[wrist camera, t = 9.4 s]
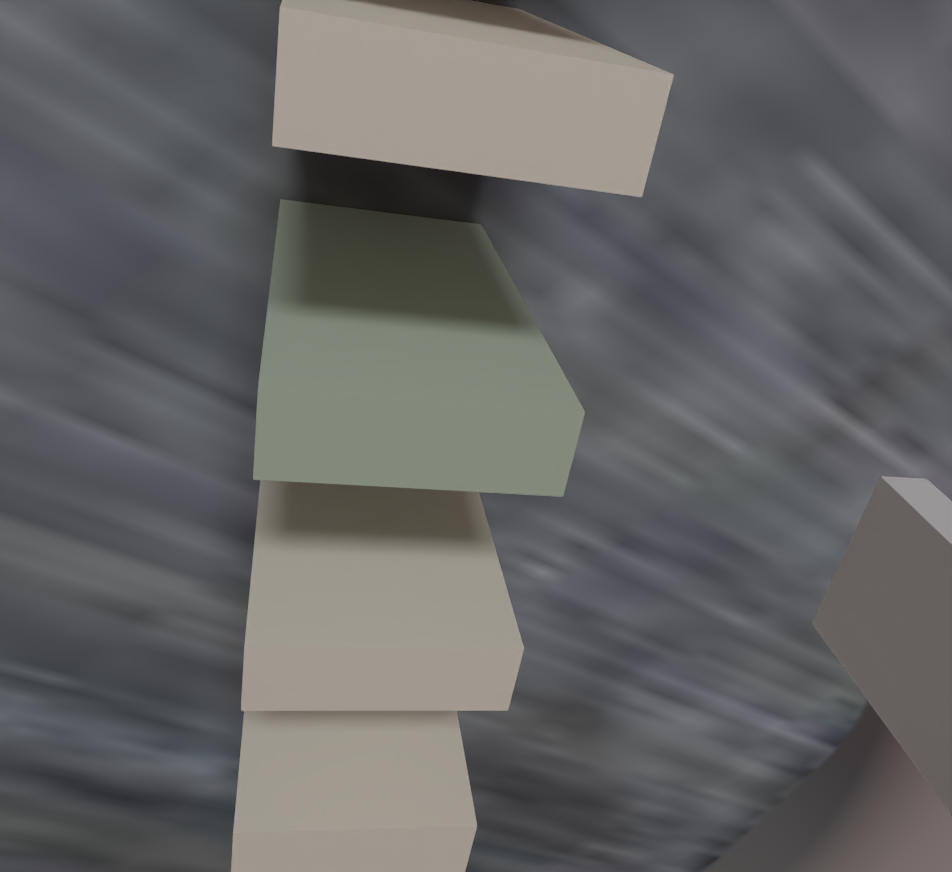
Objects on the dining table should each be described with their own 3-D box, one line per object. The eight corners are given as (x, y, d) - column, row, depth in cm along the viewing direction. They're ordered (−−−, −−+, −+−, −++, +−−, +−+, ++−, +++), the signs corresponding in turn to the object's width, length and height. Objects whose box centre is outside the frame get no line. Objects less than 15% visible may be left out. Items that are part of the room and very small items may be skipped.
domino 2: (470, 283, 23) (562, 496, 14) (276, 262, 22) (253, 479, 13) (481, 224, 22) (584, 412, 14) (280, 199, 21) (258, 386, 13)
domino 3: (442, 446, 25) (507, 710, 17) (266, 434, 24) (240, 710, 16) (451, 397, 25) (524, 648, 16) (269, 383, 24) (244, 644, 15)
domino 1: (506, 83, 21) (642, 196, 12) (290, 48, 19) (271, 146, 11) (519, 8, 20) (674, 74, 11) (295, -32, 19) (280, 6, 10)
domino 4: (419, 580, 28) (465, 872, 19) (257, 575, 27) (230, 882, 18) (426, 540, 27) (476, 825, 18) (260, 533, 26) (233, 832, 17)
